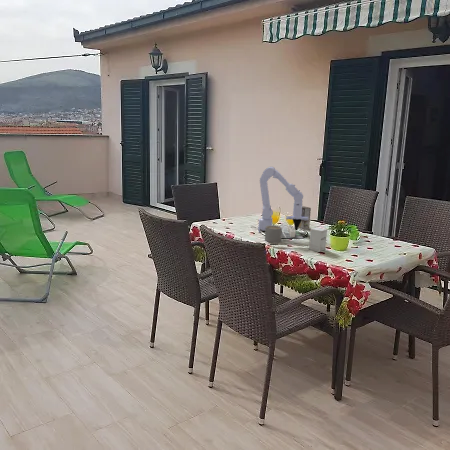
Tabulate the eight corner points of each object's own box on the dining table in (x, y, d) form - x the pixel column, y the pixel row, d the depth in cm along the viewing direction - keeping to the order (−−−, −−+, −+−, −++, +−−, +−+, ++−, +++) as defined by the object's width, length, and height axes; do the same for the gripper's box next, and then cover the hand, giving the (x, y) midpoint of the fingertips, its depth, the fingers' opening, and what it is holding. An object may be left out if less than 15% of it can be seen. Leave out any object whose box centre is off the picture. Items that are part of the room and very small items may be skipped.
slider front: (290, 237, 295) (290, 230, 294) (289, 235, 298) (290, 229, 297) (295, 237, 295) (295, 230, 294) (294, 236, 298) (294, 229, 297)
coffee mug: (272, 245, 279) (273, 229, 277) (261, 242, 286) (262, 226, 284) (288, 243, 287) (289, 227, 285) (277, 239, 294) (278, 224, 292)
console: (280, 240, 293) (280, 237, 293) (276, 232, 313) (277, 230, 313) (303, 240, 293) (303, 238, 293) (299, 233, 313) (299, 231, 313)
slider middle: (289, 234, 302) (289, 228, 301) (288, 233, 305) (288, 227, 304) (293, 234, 302) (294, 228, 301) (293, 233, 305) (293, 227, 304)
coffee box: (309, 230, 325) (311, 207, 322) (303, 231, 321) (305, 208, 318) (300, 227, 332) (301, 205, 329) (293, 228, 328) (295, 206, 325)
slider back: (287, 232, 309) (288, 225, 308) (287, 231, 312) (287, 225, 311) (292, 232, 309) (292, 226, 308) (291, 231, 312) (292, 225, 311)
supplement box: (319, 252, 269) (321, 231, 266) (308, 249, 273) (310, 228, 271) (325, 249, 274) (327, 229, 272) (314, 247, 279) (316, 226, 276)
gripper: (287, 211, 303) (286, 231, 306) (309, 211, 303) (307, 232, 306) (286, 209, 310) (284, 228, 313) (307, 209, 310) (306, 229, 313)
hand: (296, 230), depth 310 cm, fingers closed
